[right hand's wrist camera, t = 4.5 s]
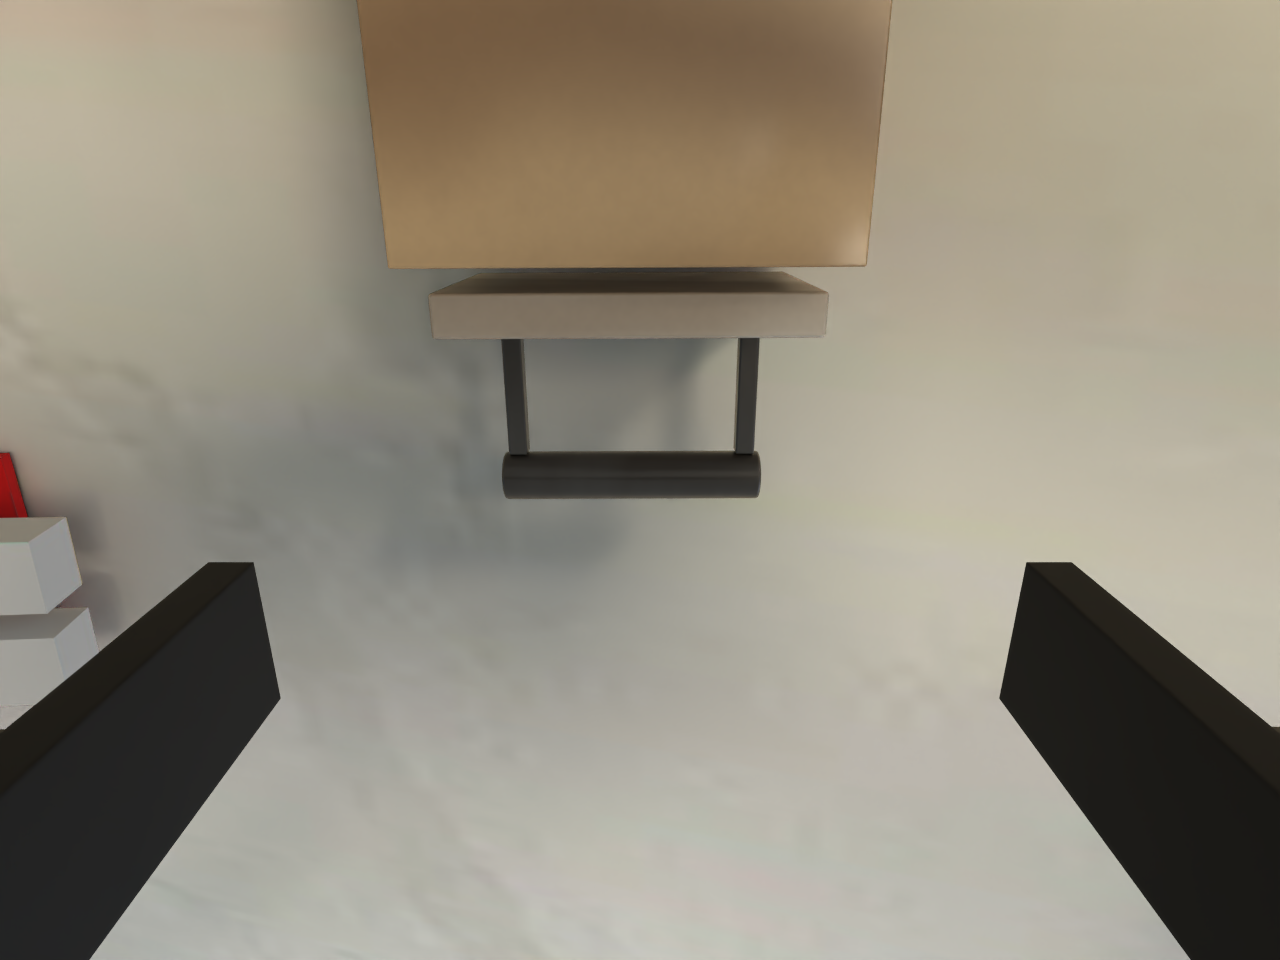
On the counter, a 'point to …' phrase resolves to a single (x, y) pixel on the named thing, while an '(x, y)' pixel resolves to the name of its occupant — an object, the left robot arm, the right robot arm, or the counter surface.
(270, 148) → the counter surface
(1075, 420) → the counter surface
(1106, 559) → the counter surface
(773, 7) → the cabinet
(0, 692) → the toy
